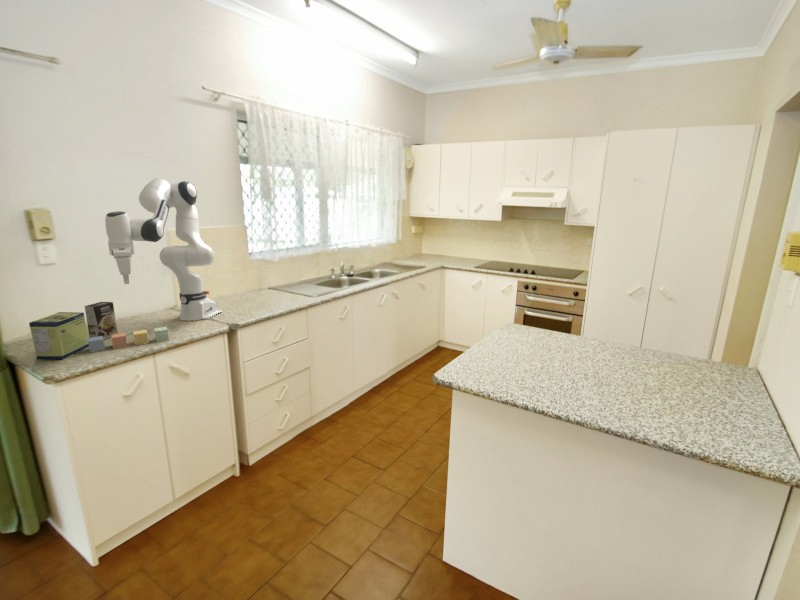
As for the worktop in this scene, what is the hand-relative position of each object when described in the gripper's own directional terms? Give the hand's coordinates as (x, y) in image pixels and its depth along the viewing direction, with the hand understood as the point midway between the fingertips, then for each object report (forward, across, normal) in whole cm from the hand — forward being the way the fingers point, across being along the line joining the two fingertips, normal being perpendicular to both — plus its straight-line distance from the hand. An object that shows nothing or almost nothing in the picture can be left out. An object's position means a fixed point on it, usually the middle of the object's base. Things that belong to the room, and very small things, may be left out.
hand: (126, 281), depth 176 cm
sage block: (+28, +4, +10) cm, 30 cm away
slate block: (+28, +4, -14) cm, 31 cm away
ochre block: (+28, +4, +2) cm, 28 cm away
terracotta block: (+28, +4, -6) cm, 28 cm away
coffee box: (+28, -13, -11) cm, 32 cm away
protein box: (+28, +1, -25) cm, 37 cm away
